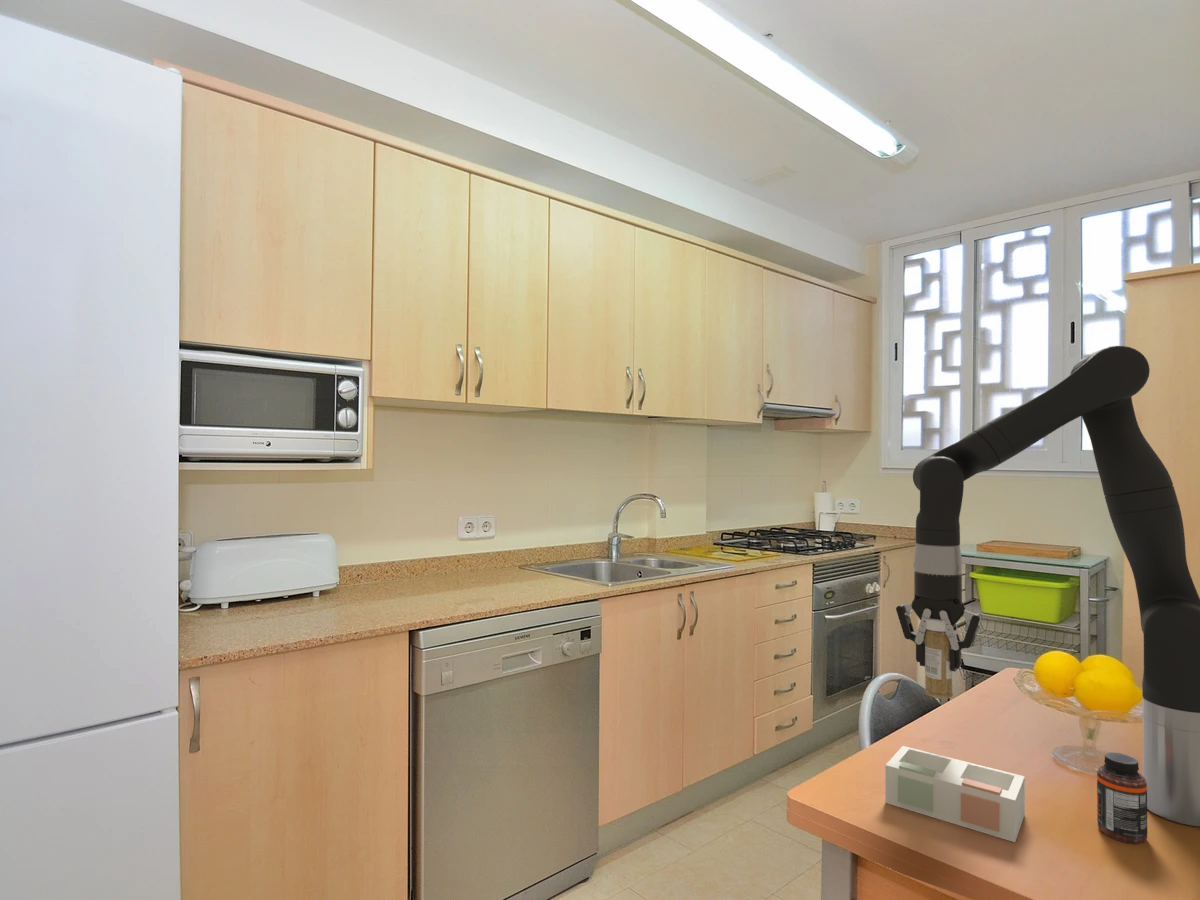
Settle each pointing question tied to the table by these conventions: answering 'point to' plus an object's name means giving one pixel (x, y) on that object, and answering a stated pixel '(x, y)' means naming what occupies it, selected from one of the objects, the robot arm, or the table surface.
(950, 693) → the spice jar
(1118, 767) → the supplement bottle
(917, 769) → the socket block
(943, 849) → the table surface
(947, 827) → the table surface
